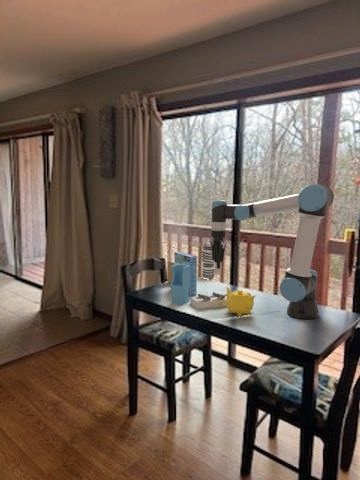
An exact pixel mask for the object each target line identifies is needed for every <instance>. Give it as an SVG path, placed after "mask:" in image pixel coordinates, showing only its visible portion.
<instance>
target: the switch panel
mask: <svg viewBox="0 0 360 480" xmlns="http://www.w3.org/2000/svg"><path fill="white" fill-rule="evenodd" d="M226 294H227V293H223V294H222V295H224V296H225V299H223V298H219V297H215V296H213V295H212V294H211V295H208V296H209V297H211V299H210V300H207V299H203V298H200V297H198V296H193V297H191V296H189V303H190V305H191V306H193V307H194V308H195V309H197V310H203V309H211V308H212V309H214V308H221V307H222V308H224V307H226V304H227V295H226Z"/></svg>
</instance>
